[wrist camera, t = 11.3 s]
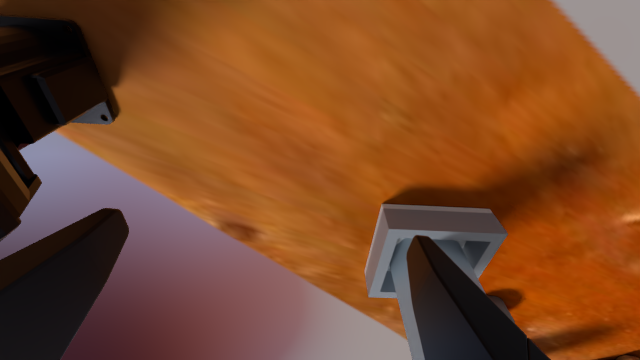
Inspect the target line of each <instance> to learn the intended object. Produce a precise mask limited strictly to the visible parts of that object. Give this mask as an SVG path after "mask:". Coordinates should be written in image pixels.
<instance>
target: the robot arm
mask: <svg viewBox="0 0 640 360" xmlns="http://www.w3.org/2000/svg"><path fill="white" fill-rule="evenodd" d="M67 26H69V27H70V28H71V30H72V33H71V32H70V31H69V30H68V28H67ZM104 115H106V116H107V117H108V118H106V117H105V116H104ZM113 121H115V115H114V112H113V110H112V107H111V105H110V102H109V100H108V96H107V94H106V91H105V89H104V86H103V84H102V81H101V79H100V76H99V73H98V71H97V68H96V66H95V63H94V61H93V59H92V57H91V54H90V52H89V49H88V47H87V44H86V42H85V39H84V37H83V34H82V31H81V29H80V27H79V26H78V25H77V24H76V23H75V22H74V21H72V20H69V19H56V18H41V17H27V16H13V15H0V241H1V240H3V239H4V238H5V237H7V236H8V235H9V234H10V233H11V232H12V231H14V230H15V229H16V228H17V227H18V226H19V225H20V223H21V220H20V218H19V217H20V216H21V214H22V213H23V211H24V210H25V208H26V207H27V205H28V204H29V202H30V200H31V199H32V197H33V196H34V194H35V193H36V191H37V190H38V188H39V187H40V185H41V184H42V182H41V180H40V179H39V177H38V176H37V175H36V174H34V173H33V172H32V170H31V169H30V167H29V166H28V164H27V162H26V161H25V159H24V158H23V156H22V155H21V153H20V152H19V150H21V149H23V148H24V147H26V146H28V145H29V144H33V143H35V142H36V141H38V140H40V139H41V138H43V137H45V136H46V135H48V134H50V133H52V132H53V131H55V130H57V129H58V128H60V127H62V126H64V125H67V124H68V123H70V122H72V123H90V124H110V123H112V122H113ZM128 234H129V228H128V225H127V223H126V220H125V218H124V216H123V214H122V212H121V211H120V210H119V209H112V208H103V209H101V210H99V211H97V212H95V213H93V214H91V215H89V216H87V217H85V218H83V219H81V220H79V221H77V222H75V223H73V224H71V225H69V226H67V227H65V228H63V229H61V230H59V231H57V232H55V233H53V234H51V235H49V236H47V237H45V238H43V239H41V240H39V241H38V242H36V243H33V244H31V245H29V246H28V247H25V248H24V249H21V250H19V251H17V252H16V253H13V254H11V255H9V256H7V257H5V258H4V259H1V260H0V360H60V359H61V358H62V356H63V354H64V352H65V351H66V349H67V348H68V346H69V344H70V342H71V341H72V339H73V338H74V336H75V334H76V332H77V331H78V329H79V327H80V326H81V324H82V322H83V321H84V319H85V317H86V316H87V314H88V312H89V311H90V309H91V307H92V306H93V304H94V302H95V301H96V299H97V297H98V296H99V294H100V292H101V291H102V289H103V287H104V285H105V283H106V282H107V280H108V278H109V276H110V274H111V272H112V269H113V267H114V265H115V263H116V261H117V258H118V256H119V254H120V252H121V250H122V248H123V245H124V243H125V241H126V239H127V237H128ZM406 260H407V268H408V276H409V284H410V293H411V300H412V306H413V311H414V316H415V320H416V324H417V328H418V333H419V337H420V341H421V345H422V350H423V354H424V358H425V360H551V359H550V358H549V357H548V356H547V355H546V354H545V353H544V352H543V351H542V350H541V349H540V348H539V347H538V346H537V345H536V344H535V343H534V342H533V341H532V340H531V339H529V338H527V336H526V334H525V333H524V332H523V331H522V330H521V329H520V328H519V327H518V326H517V325H516V324H515V323H514V322H513V321H512V320H511V319H510V318H509V317H508V316H507V315H506V314H505V313H504V312H503V311H502V310H501V309H500V308H499V307H498V306H497V305H496V304H495V303H494V302H493V301H492V300H491V299H490V298H489V297H488V296H487V295H486V294H485V293H484V292H483V291H482V290H481V289H480V288H479V287H478V286H477V285H476V284H475V283H474V282H473V281H472V280H471V279H470V278H469V277H468V276H467V275H466V274H465V273H464V272H463V270H462V269H461V268H460V267H459V266H458V265H457V264H456V263H455V262H454V261H453V260H452V259H451V258H450V257H449V256H448V255H447V254H446V253H445V252H444V251H443V250H442V249H441V248H440V247H439V246H438V245H437V244H436V243H435V242H434V241H433V240H432V239H431V238H430V237H428V236H423V235H415V236H414V237H413V239H412V241H411V244H410V246H409V248H408V251H407V255H406Z"/></svg>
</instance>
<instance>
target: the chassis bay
mask: <svg viewBox="0 0 640 360" xmlns="http://www.w3.org/2000/svg"><path fill="white" fill-rule="evenodd" d="M415 235H423V236H428V237H430V238H431V239H438V240H455V241H457V242H459V244H460V246H461V248H462V250H463V251H464V253H465V255H466V257H467V259H468V261H469V263H470V265H471V267H472V269H473V271H474V273H475V274H476V276H477V278H479V277H480V275H481V274H482V272H483V271H484V269H485V268H486V266H487V265H488V263H489V262H490V260H491V259H492V257H493V256H494V254H495V253H496V251H497V250H498V248H499V247H500V245H501V244H502V242H503V241H504V239H505V238H506V236H507V235H508V233H507V232H506V231H505V229H504V228H503V226H502V225H501V224H500V222H499V221H498V220H497V218H496V217H495V215H494V214H493V213H492V211H491V210H490V209H484V208H462V207H441V206H419V205H397V204H382V205H381V209H380V213H379V217H378V221H377V225H376V229H375V232H374V236H373V240H372V244H371V248H370V252H369V256H368V260H367V263H366V267H365V278H366V284H367V291H368V297H381V298H397V294H396V290H395V286H394V281H393V277H392V273H391V269H390V265H389V263H390V261H391V258H392V255H393V252H394V249H395V246H396V245H397V244H398V243H400V242H401V241H402V240H403V239H404V238H413V237H414V236H415Z"/></svg>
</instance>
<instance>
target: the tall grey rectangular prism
mask: <svg viewBox="0 0 640 360" xmlns="http://www.w3.org/2000/svg"><path fill="white" fill-rule="evenodd" d="M412 239H413V238H404V239H403V240H402V241H401V242H400V243H398V244H397V245H396V246H395V249H394V252H393V255H392V258H391V261H390V263H389V265H390V269H391V273H392V277H393V281H394V286H395V290H396V294H397V298H398V302H399V306H400V310H401V314H402V319H403V323H404V327H405V331H406V335H407V339H408V343H409V347H410V352H411V356H412V360H425V358H424V354H423V350H422V345H421V341H420V337H419V333H418V328H417V324H416V320H415V316H414V311H413V306H412V300H411V293H410V284H409V276H408V268H407V260H406V255H407V251H408V248H409V246H410V244H411V241H412ZM432 240H433V241H434V242H435V243H436V244H437V245H438V246H439V247H440V248H441V249H442V250H443V251H444V252H445V253H446V254H447V255H448V256H449V257H450V258H451V259H452V260H453V261H454V262H455V263H456V264H457V265H458V266H459V267H460V268H461V269H462V270H463V272H464V273H465V274H466V275H467V276H468V277H469V278H470V279H471V280H472V281H473V282H474V283H475V284H476V285H477V286H478V287H479V288H480V289H481V290H482V291H483V292H484V290H483V288H482V286H481V284H480V282H479V280H478V278H477V276H476V274H475V273H474V271H473V269H472V267H471V265H470V263H469V261H468V259H467V257H466V255H465V253H464V251H463V250H462V248H461V246H460V244H459V242H457V241H455V240H438V239H432ZM484 293H485V292H484Z"/></svg>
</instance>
